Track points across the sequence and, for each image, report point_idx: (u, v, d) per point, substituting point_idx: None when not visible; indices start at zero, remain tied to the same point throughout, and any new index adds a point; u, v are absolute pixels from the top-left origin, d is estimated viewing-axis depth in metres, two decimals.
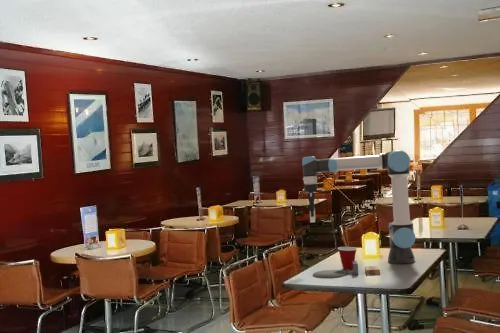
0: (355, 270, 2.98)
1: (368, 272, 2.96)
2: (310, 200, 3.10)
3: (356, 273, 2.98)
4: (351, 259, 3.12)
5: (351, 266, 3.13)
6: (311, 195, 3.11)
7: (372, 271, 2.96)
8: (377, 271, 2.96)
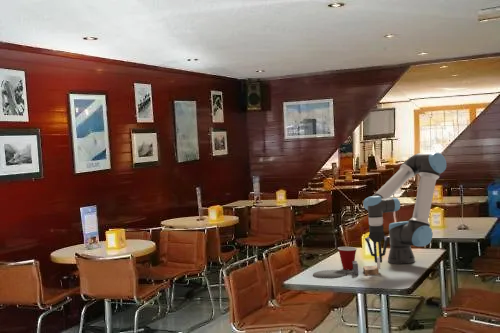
0: (355, 270, 2.98)
1: (367, 272, 2.97)
2: (368, 246, 3.01)
3: (356, 273, 2.98)
4: (351, 259, 3.12)
5: (351, 266, 3.13)
6: (366, 241, 3.01)
7: (371, 271, 2.96)
8: (376, 271, 2.96)
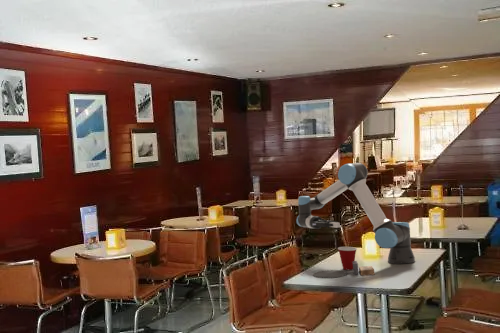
0: (355, 270, 2.98)
1: (362, 272, 2.97)
2: None
3: (356, 273, 2.98)
4: (351, 259, 3.12)
5: (351, 266, 3.13)
6: None
7: (366, 271, 2.97)
8: (371, 271, 2.96)
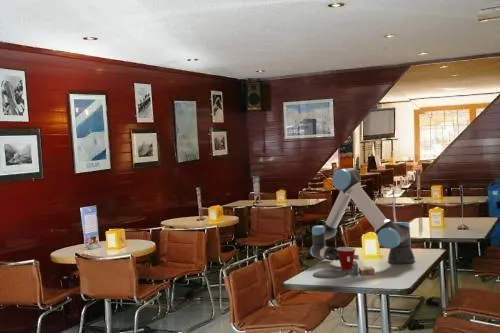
0: (355, 270, 2.98)
1: (363, 272, 2.97)
2: None
3: (356, 273, 2.98)
4: (350, 259, 3.11)
5: (350, 266, 3.12)
6: None
7: (367, 271, 2.97)
8: (372, 271, 2.96)
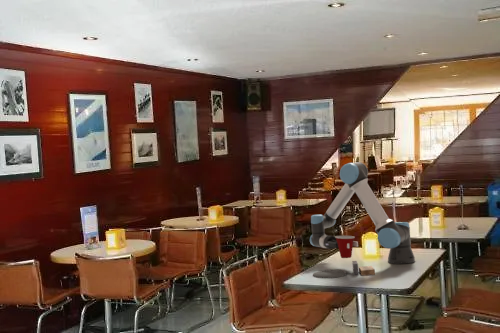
0: (355, 270, 2.98)
1: (363, 272, 2.97)
2: None
3: (356, 273, 2.98)
4: (349, 247, 3.11)
5: (349, 254, 3.11)
6: None
7: (367, 271, 2.97)
8: (372, 271, 2.96)
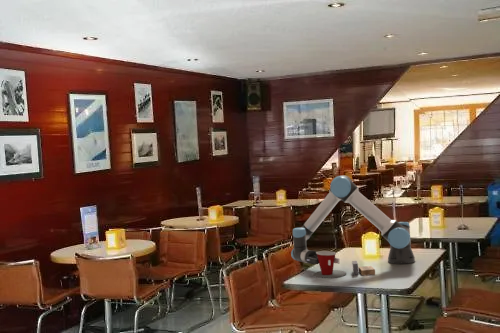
0: (355, 270, 2.98)
1: (363, 272, 2.97)
2: None
3: (356, 273, 2.98)
4: None
5: (330, 271, 3.00)
6: None
7: (367, 271, 2.97)
8: (372, 271, 2.97)
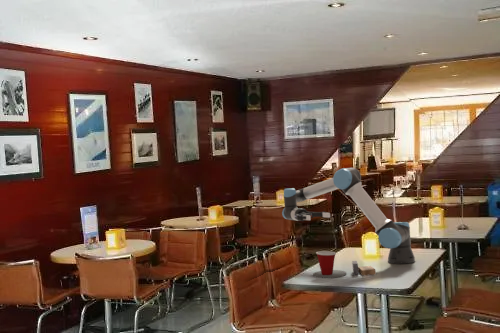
0: (355, 270, 2.98)
1: (364, 272, 2.96)
2: None
3: (356, 273, 2.98)
4: (330, 264, 2.99)
5: (330, 271, 3.00)
6: None
7: (368, 271, 2.97)
8: (373, 271, 2.97)
